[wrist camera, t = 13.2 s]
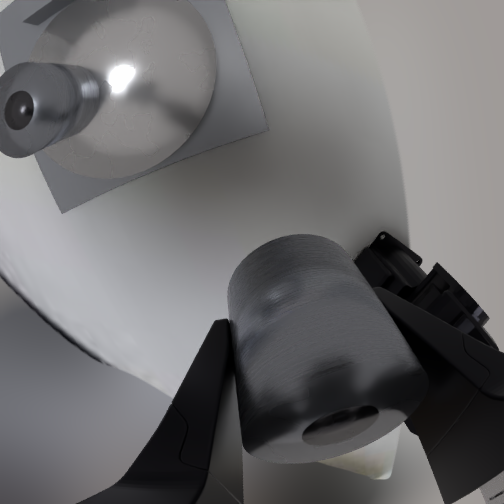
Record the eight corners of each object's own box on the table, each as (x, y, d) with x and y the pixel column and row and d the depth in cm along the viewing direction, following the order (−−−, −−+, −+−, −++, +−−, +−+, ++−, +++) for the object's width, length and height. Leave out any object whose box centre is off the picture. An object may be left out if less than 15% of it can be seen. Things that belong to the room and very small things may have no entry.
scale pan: (243, 130, 17) (245, 133, 16) (73, 200, 18) (65, 208, 17) (182, -38, 11) (180, -47, 10) (16, 50, 12) (5, 50, 11)
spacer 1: (82, 147, 15) (40, 171, 11) (28, 124, 14) (-22, 142, 9) (111, 77, 13) (73, 75, 9) (53, 57, 12) (3, 54, 7)
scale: (265, 127, 19) (276, 135, 15) (70, 206, 20) (47, 228, 16) (189, -77, 10) (186, -103, 7) (4, 20, 11) (-25, 15, 8)
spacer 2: (378, 269, 10) (456, 379, 6) (304, 351, 12) (340, 465, 7) (276, 208, 9) (341, 343, 4) (203, 316, 10) (206, 456, 6)
